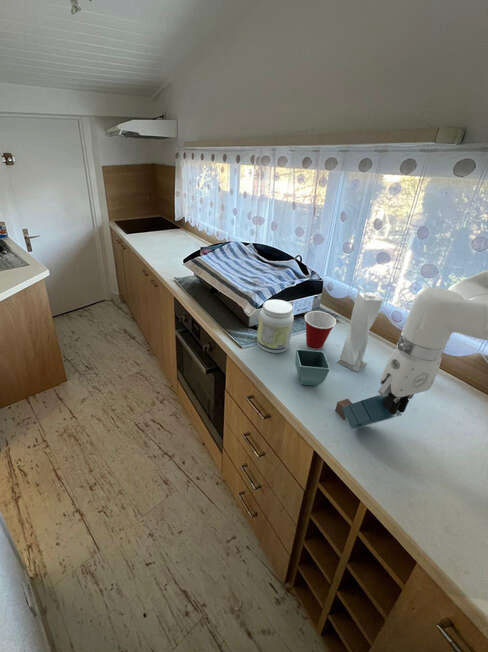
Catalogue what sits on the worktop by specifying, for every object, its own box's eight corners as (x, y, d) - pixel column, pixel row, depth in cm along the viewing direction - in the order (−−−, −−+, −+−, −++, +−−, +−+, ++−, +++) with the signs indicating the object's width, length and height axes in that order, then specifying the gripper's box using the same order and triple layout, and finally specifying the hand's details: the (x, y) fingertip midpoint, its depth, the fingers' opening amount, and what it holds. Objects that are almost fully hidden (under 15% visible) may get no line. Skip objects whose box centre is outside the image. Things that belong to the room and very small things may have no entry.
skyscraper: (332, 360, 108) (352, 289, 95) (343, 351, 112) (363, 282, 99) (357, 372, 102) (381, 298, 89) (367, 362, 107) (392, 290, 93)
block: (357, 407, 84) (354, 417, 86) (347, 398, 87) (345, 407, 89) (346, 410, 83) (343, 420, 85) (337, 401, 86) (334, 410, 88)
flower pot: (324, 391, 95) (330, 369, 91) (295, 388, 96) (300, 366, 92) (318, 372, 103) (324, 351, 98) (291, 370, 104) (295, 348, 100)
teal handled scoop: (436, 404, 68) (421, 381, 71) (391, 417, 65) (377, 392, 68) (380, 422, 84) (369, 402, 87) (342, 432, 81) (332, 412, 84)
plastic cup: (299, 351, 113) (305, 323, 107) (299, 335, 122) (304, 309, 116) (331, 356, 110) (338, 328, 104) (328, 339, 119) (335, 313, 114)
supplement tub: (265, 332, 125) (270, 295, 117) (294, 343, 117) (301, 304, 109) (250, 345, 116) (254, 306, 108) (279, 358, 109) (286, 318, 101)
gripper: (405, 363, 58) (377, 429, 67) (467, 349, 62) (433, 414, 71) (374, 341, 65) (353, 404, 74) (432, 330, 68) (405, 391, 77)
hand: (392, 408), depth 72 cm, fingers closed on teal handled scoop
